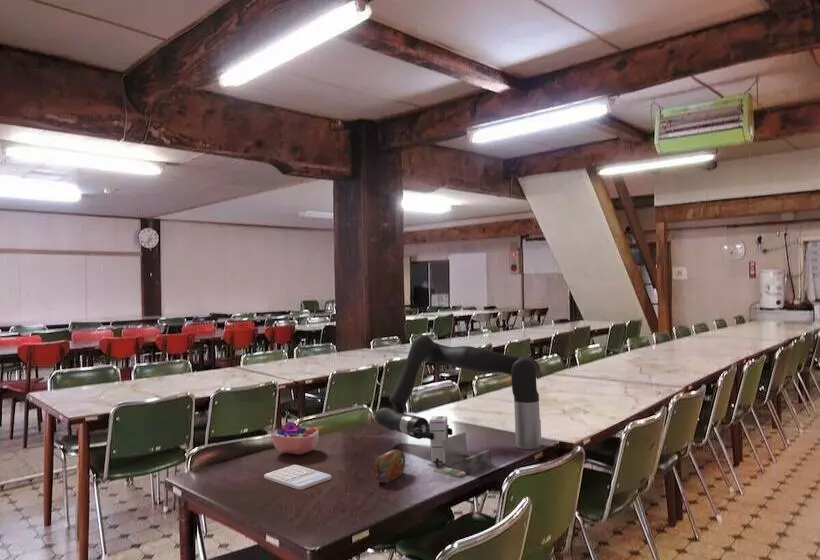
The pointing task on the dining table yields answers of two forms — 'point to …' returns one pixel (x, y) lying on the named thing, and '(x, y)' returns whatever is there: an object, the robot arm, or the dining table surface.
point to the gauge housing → (469, 464)
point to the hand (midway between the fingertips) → (442, 434)
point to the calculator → (297, 477)
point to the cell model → (295, 438)
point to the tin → (389, 466)
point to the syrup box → (438, 436)
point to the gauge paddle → (453, 449)
